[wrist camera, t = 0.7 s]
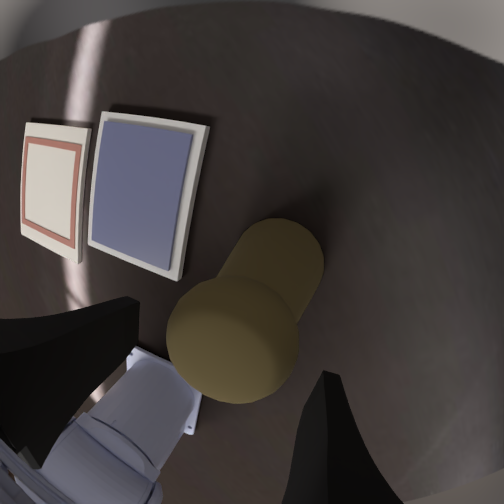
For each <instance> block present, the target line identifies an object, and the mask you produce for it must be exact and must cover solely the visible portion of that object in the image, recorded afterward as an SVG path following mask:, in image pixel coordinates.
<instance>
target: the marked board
mask: <svg viewBox="0 0 504 504" xmlns="http://www.w3.org/2000/svg"><path fill="white" fill-rule="evenodd" d="M91 131H92V129H90V128H82V127H73V126H64V125H54V124H44V123H31V122H28V123H26V128H25V136H24V146H23V157H22V172H21V234H22V235H24V236H26V237H28V238H30V239H31V240H33V241H35V242H37V243H39V244H40V245H42V246H44V247H46V248H48V249H50V250H52V251H53V252H55V253H57V254H59V255H61V256H63V257H65V258H67V259H69V260H71V261H73V262H75V263H77V264H79V263H81V262H82V217H83V201H84V188H85V177H86V168H87V159H88V152H89V144H90V138H91Z"/></svg>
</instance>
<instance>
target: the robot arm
mask: <svg viewBox="0 0 504 504" xmlns="http://www.w3.org/2000/svg"><path fill="white" fill-rule="evenodd" d="M139 308H140V302H139V301H137V300H135V299H133V298H130V297H128V296H125V297H121V298H117V299H113V300H110V301H106V302H103V303H99V304H96V305H92V306H88V307H85V308H81V309H77V310H73V311H68V312H64V313H60V314H55V315H49V316H43V317H35V318H21V319H0V504H161V501H162V498H163V493H162V486H161V484H160V483H158V482H157V481H155V480H156V479H157V477H158V476H159V474H160V471H159V470H160V469H161V468H162V466H163V465H164V463H165V462H166V460H167V458H168V457H169V455H170V454H171V452H172V450H173V449H174V447H175V445H176V444H177V442H178V441H179V439H180V437H181V436H182V434H183V432H185V433H187V434H190V435H192V434H194V432H195V427H196V422H197V417H198V413H199V408H200V403H201V398H202V393H200V392H199V391H197V390H196V389H194V388H193V387H192V386H190V385H189V384H188V383H187V382H186V381H185V380H184V379H183V378H182V377H181V376H180V375H179V374H178V372H177V370H176V369H175V367H174V365H173V363H171V362H169V361H167V360H165V359H163V358H160V357H158V356H156V355H154V354H152V353H150V352H148V351H146V350H144V349H142V348H140V347H138V346H136V344H137V343H138V332H139ZM126 358H127V372H126V373H125V374H124V375H123V376H122V377H121V378H120V379H119V380H118V381H117V382H116V384H115V385H114V386H113V387H112V388H111V389H110V390H109V391H108V392H107V393H106V394H105V395H104V396H103V397H102V398H101V399H100V400H99V401H98V402H97V403H96V405H95V406H94V407H93V408H92V409H91V410H90V411H89V412H88V413H87V414H86V413H85V412H83V413H82V414H81V415H80V416H79V417H78V419H77V420H76V418H75V417H74V416H73V415H74V414H75V413H76V412H77V410H78V409H79V408H80V406H81V405H82V404H83V402H84V401H85V400H86V399H87V398H88V397H89V395H90V394H91V393H92V392H93V391H94V390H95V389H96V388H97V387H98V386H99V385H100V384H101V383H102V382H103V381H104V380H105V379H106V378H107V377H108V376H109V375H111V374H112V373H113V372H114V371H115V370H116V369H117V368H118V367H119V366H120V365H121V363H122V362H123V361H124V360H125V359H126ZM12 450H13V451H14V452H15V453H16V454H17V455H16V454H15V453H14V452H13V451H12ZM8 470H9V471H10V472H11V473H12V474H13V475H14V477H15V481H16V482H15V481H14V480H13V479H12V478H11V477H10V476H9V475H8V473H9V472H8ZM282 504H403V502H402V501H401V500H400V499H399V498H398V496H397V495H396V494H395V493H394V491H393V490H392V489H391V487H390V486H389V484H388V483H387V482H386V480H385V479H384V477H383V476H382V474H381V473H380V471H379V470H378V468H377V466H376V465H375V463H374V461H373V459H372V458H371V456H370V454H369V452H368V450H367V448H366V446H365V444H364V441H363V439H362V437H361V435H360V432H359V430H358V428H357V425H356V422H355V420H354V417H353V414H352V412H351V409H350V406H349V403H348V400H347V397H346V394H345V391H344V387H343V384H342V381H341V378H340V375H338V374H334V373H331V372H327V371H324V370H323V372H322V374H321V376H320V378H319V379H318V381H317V383H316V385H315V387H314V389H313V391H312V393H311V395H310V397H309V398H308V400H307V402H306V404H305V406H304V408H303V412H302V415H301V419H300V422H299V426H298V429H297V435H296V441H295V447H294V452H293V458H292V464H291V469H290V475H289V480H288V484H287V488H286V492H285V495H284V498H283V501H282Z"/></svg>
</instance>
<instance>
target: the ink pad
mask: <svg viewBox="0 0 504 504" xmlns="http://www.w3.org/2000/svg"><path fill="white" fill-rule="evenodd" d="M209 130H210V127H209V126H204V125H199V124H193V123H187V122H181V121H175V120H169V119H162V118H155V117H148V116H140V115H132V114H123V113H113V112H102V115H101V120H100V126H99V132H98V138H97V144H96V151H95V159H94V167H93V175H92V185H91V196H90V210H89V228H88V245H90V246H93V247H95V248H97V249H99V250H102V251H104V252H106V253H109V254H111V255H113V256H116V257H118V258H120V259H123V260H125V261H128V262H130V263H132V264H135V265H137V266H140V267H142V268H145V269H147V270H149V271H152V272H154V273H157V274H159V275H162V276H164V277H167V278H169V279H172V280H175V281H179V280H180V279H181V278H182V272H183V266H184V259H185V253H186V247H187V241H188V235H189V229H190V224H191V218H192V213H193V207H194V202H195V197H196V191H197V186H198V181H199V176H200V172H201V167H202V162H203V157H204V153H205V148H206V143H207V139H208V134H209Z"/></svg>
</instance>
